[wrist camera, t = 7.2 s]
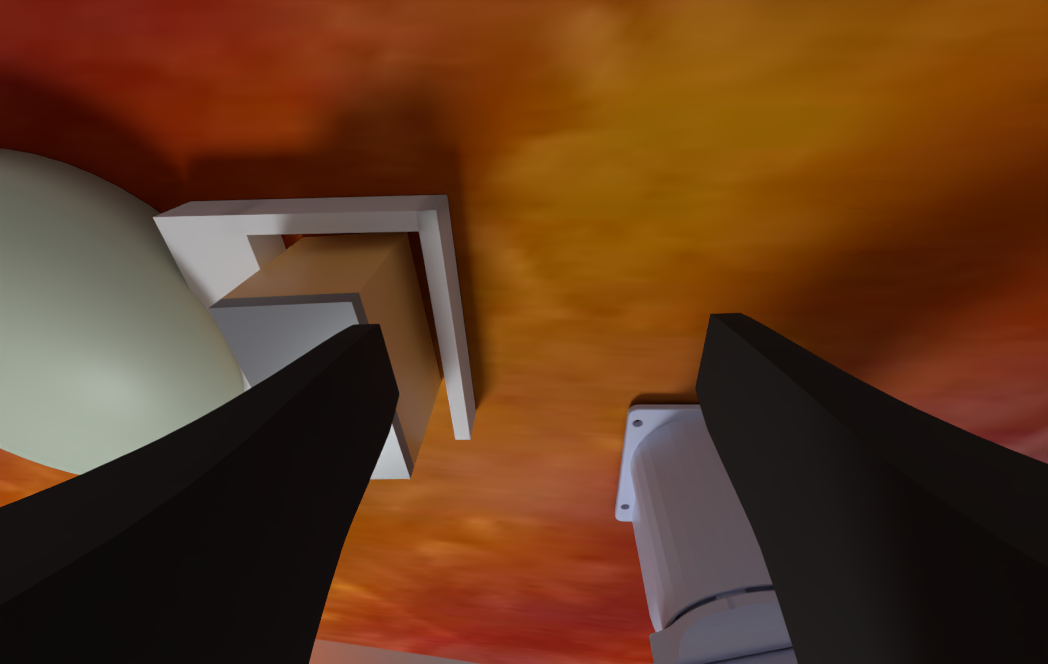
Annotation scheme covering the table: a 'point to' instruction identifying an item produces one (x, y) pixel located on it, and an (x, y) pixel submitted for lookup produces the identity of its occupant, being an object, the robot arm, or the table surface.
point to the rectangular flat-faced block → (340, 322)
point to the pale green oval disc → (159, 304)
